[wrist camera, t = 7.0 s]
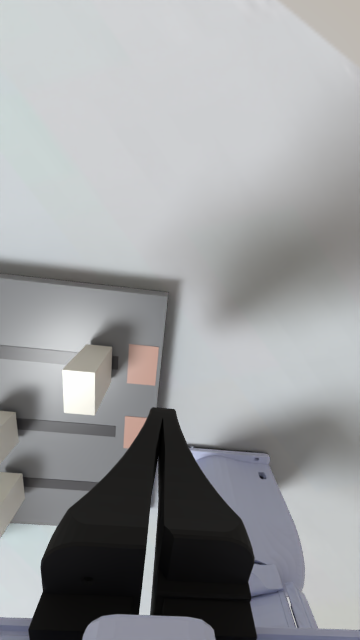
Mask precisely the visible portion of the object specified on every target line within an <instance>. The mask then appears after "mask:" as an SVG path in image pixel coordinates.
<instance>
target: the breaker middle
mask: <svg viewBox="0 0 360 640" xmlns="http://www.w3.org/2000/svg"><path fill="white" fill-rule="evenodd" d="M18 442H19V439H18V430H17V421H16V412H9V411H0V464H1V463H2V461H3V460H4V459H5V458H6V457H7V455H8V454H9V453H10V452H11V450H12V449H13V448H14V447H15V446H16V444H17V443H18Z"/></svg>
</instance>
